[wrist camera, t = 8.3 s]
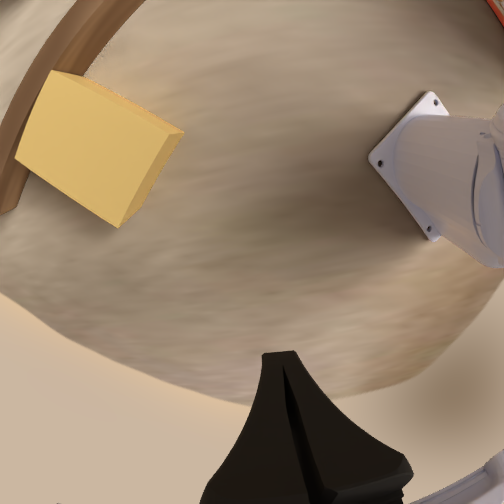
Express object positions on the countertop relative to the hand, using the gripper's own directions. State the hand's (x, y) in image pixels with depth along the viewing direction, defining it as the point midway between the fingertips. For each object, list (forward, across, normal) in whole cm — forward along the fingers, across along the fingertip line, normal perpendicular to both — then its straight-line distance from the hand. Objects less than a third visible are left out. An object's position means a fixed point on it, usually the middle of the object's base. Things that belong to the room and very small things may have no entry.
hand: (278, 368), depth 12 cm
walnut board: (+10, +12, -16) cm, 23 cm away
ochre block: (+11, +10, -10) cm, 18 cm away
